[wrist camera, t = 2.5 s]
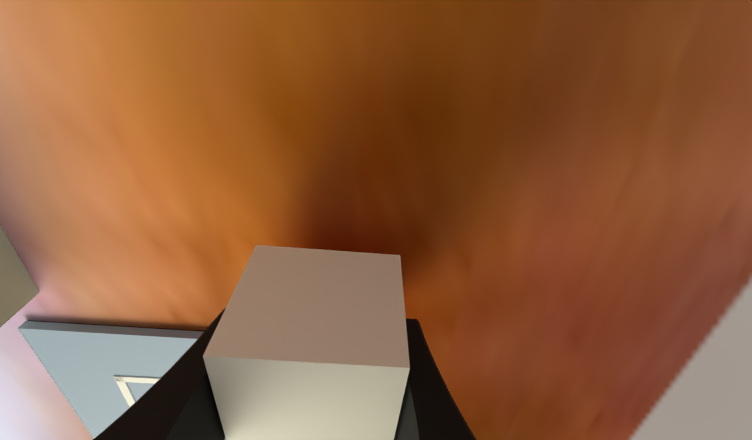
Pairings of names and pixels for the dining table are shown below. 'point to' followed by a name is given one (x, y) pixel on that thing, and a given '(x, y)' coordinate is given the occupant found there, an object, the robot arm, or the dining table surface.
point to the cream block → (311, 347)
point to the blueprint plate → (105, 364)
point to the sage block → (13, 281)
